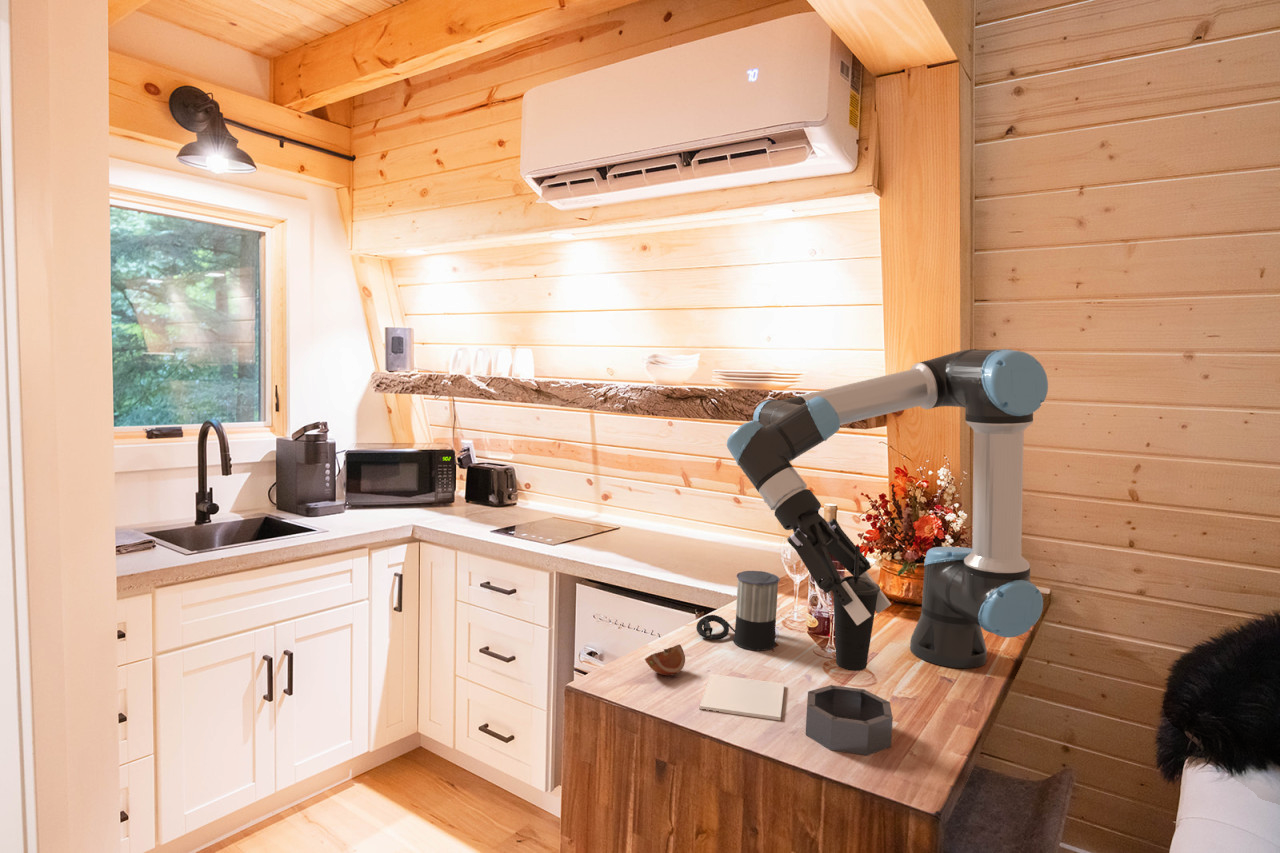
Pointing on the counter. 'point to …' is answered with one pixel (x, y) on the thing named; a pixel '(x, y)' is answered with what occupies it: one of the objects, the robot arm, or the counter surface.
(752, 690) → the coaster
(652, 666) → the fruit slice
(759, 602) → the milk frother
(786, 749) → the counter surface
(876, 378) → the robot arm
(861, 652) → the drinking cup
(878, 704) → the grey octagonal ring
